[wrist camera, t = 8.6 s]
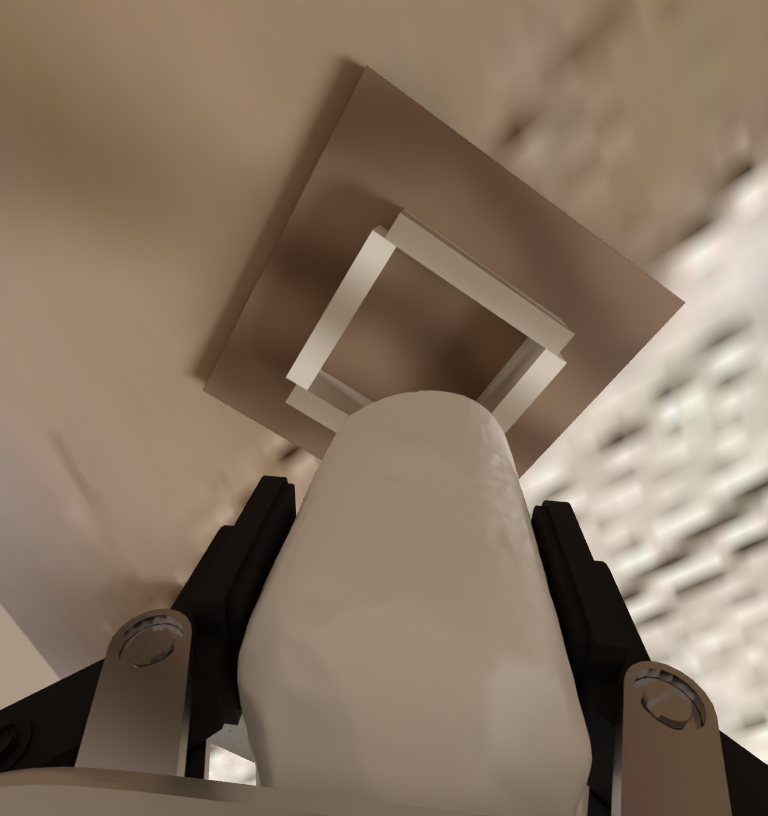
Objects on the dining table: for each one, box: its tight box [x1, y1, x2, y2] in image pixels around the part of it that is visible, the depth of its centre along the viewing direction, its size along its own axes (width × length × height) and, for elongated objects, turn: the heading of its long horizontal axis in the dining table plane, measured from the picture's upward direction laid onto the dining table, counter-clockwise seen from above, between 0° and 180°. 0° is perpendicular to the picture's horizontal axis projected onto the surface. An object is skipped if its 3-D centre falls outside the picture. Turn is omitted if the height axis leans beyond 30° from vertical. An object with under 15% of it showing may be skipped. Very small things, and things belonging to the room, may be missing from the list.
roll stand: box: [203, 66, 685, 479], centre depth 24 cm, size 18×18×4 cm
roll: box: [237, 390, 592, 816], centre depth 9 cm, size 6×12×6 cm
